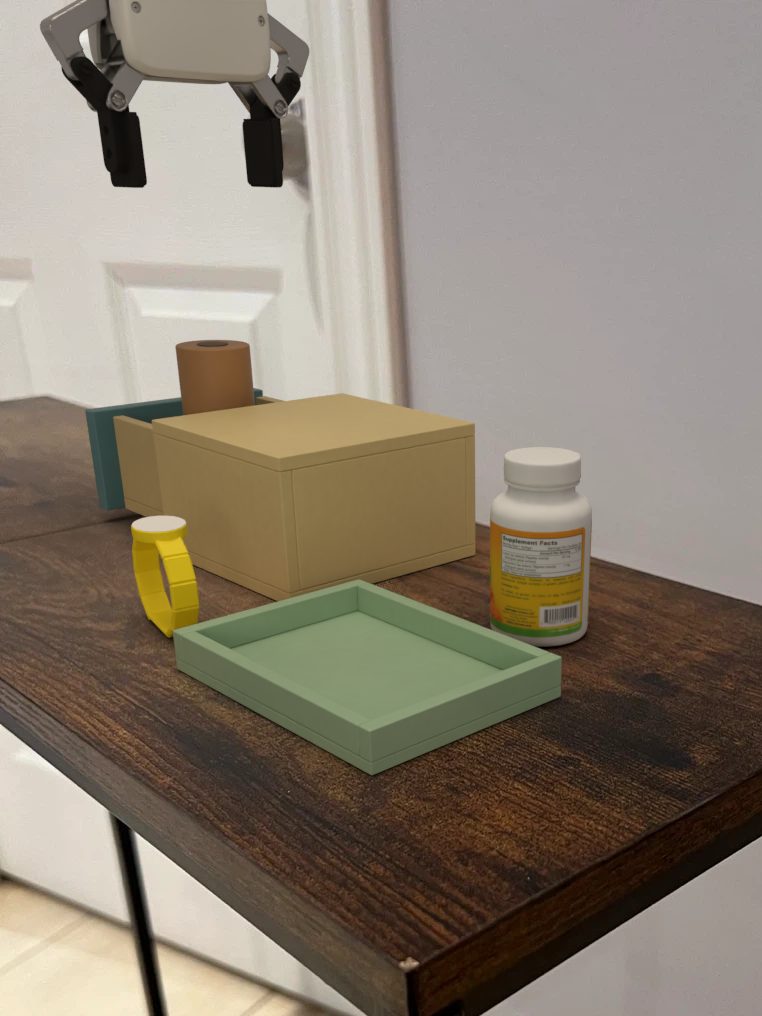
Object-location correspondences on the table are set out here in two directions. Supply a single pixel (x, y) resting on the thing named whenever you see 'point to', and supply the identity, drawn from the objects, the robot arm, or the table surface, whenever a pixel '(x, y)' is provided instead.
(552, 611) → the supplement bottle
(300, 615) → the tray
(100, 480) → the drawer
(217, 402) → the paper roll
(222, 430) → the cabinet
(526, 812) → the table surface
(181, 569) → the watch
